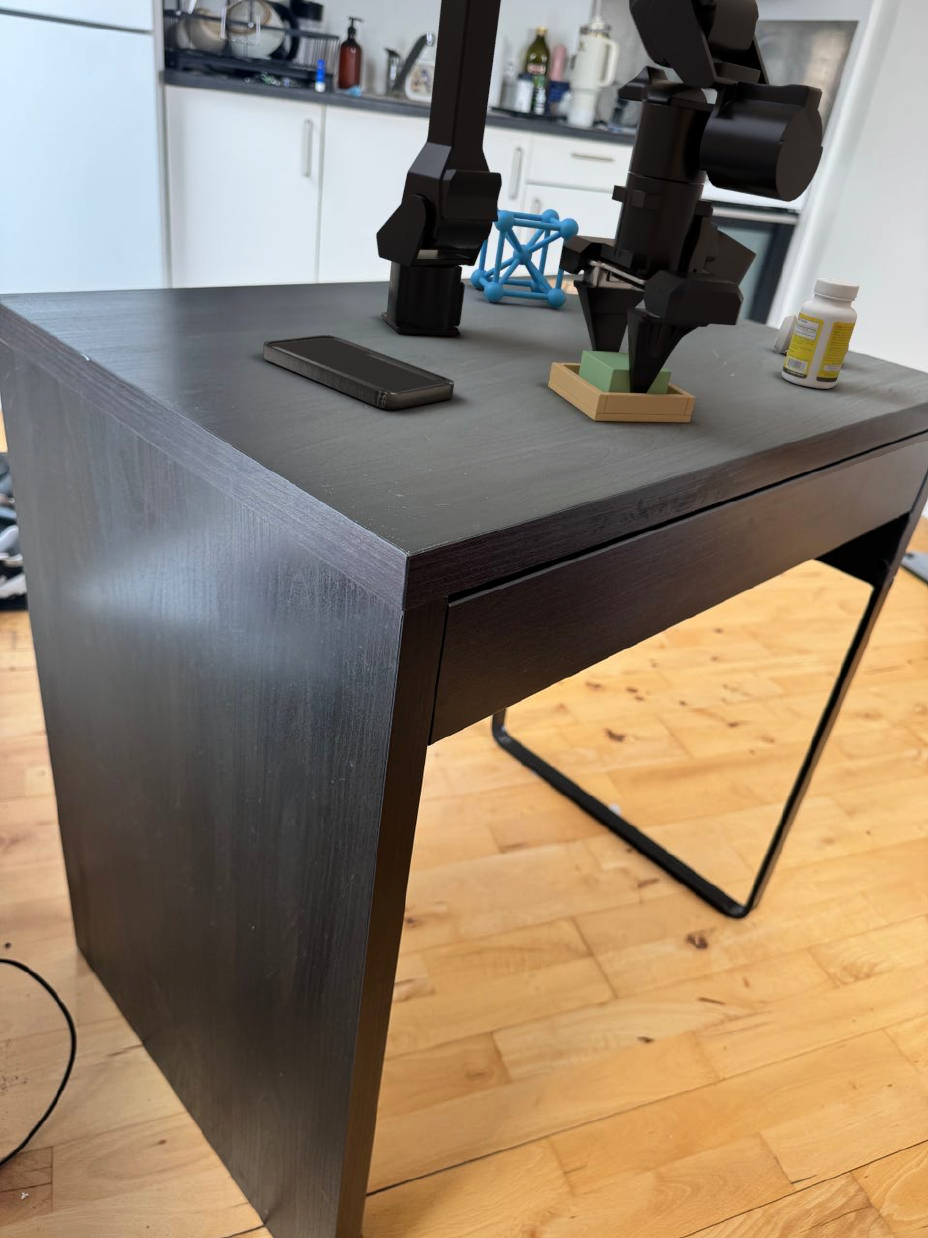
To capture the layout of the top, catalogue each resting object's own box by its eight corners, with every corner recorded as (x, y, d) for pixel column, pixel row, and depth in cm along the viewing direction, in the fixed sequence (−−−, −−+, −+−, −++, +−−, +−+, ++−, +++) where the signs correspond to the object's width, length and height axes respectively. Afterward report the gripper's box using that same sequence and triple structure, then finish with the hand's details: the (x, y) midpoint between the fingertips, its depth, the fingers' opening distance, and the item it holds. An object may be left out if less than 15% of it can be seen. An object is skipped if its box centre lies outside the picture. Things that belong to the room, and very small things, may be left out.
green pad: (605, 406, 73) (613, 368, 72) (575, 385, 77) (582, 350, 76) (663, 407, 75) (672, 371, 74) (631, 387, 79) (639, 352, 78)
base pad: (594, 420, 71) (599, 394, 70) (547, 386, 78) (552, 361, 77) (689, 422, 75) (696, 397, 74) (636, 389, 82) (642, 365, 80)
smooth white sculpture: (842, 374, 104) (838, 366, 100) (773, 355, 108) (766, 347, 103) (857, 336, 103) (854, 327, 99) (788, 318, 107) (781, 308, 102)
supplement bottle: (833, 381, 95) (866, 283, 90) (834, 393, 90) (869, 290, 86) (780, 370, 96) (810, 272, 91) (779, 381, 92) (810, 279, 87)
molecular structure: (566, 311, 109) (583, 220, 104) (485, 303, 106) (498, 209, 102) (543, 293, 117) (557, 208, 112) (467, 285, 115) (479, 198, 110)
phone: (388, 395, 66) (257, 341, 73) (387, 411, 66) (257, 355, 74) (461, 382, 71) (331, 333, 79) (459, 397, 72) (331, 346, 79)
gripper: (834, 208, 64) (767, 425, 71) (690, 175, 78) (648, 358, 86) (698, 191, 60) (643, 423, 67) (574, 159, 74) (540, 353, 82)
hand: (620, 385), depth 76 cm, fingers open, 5 cm apart
